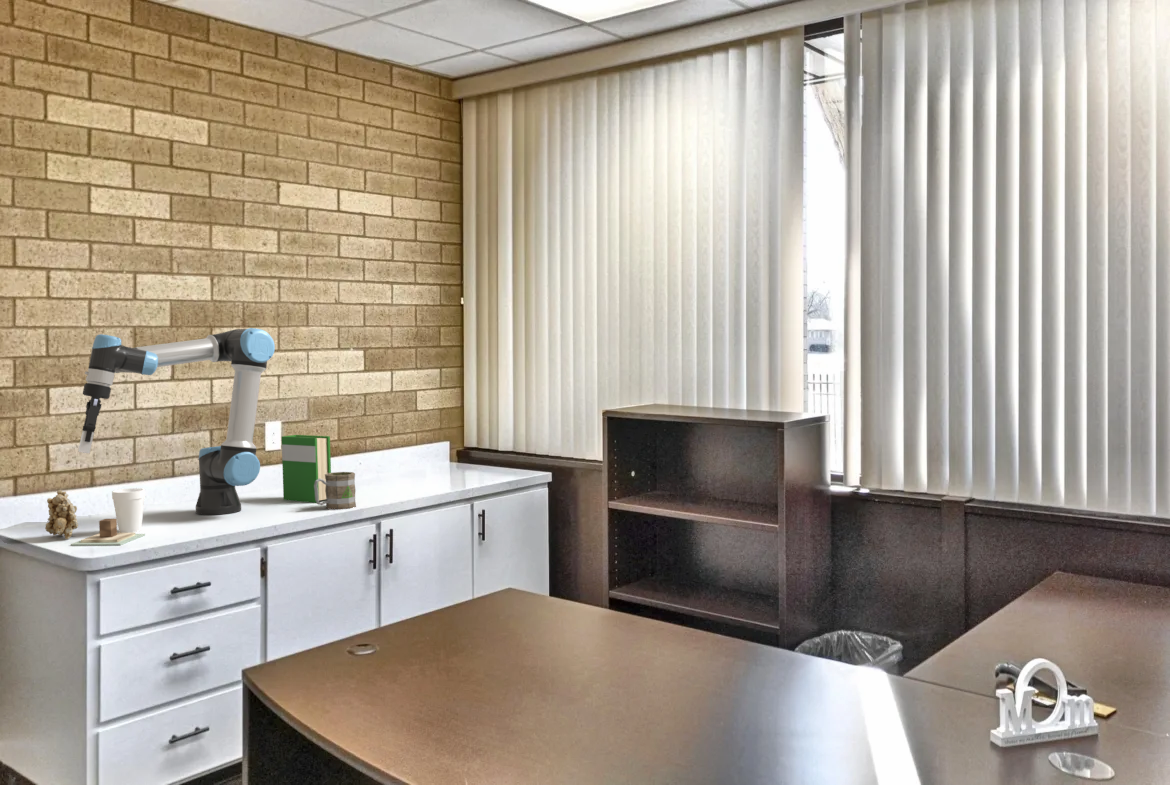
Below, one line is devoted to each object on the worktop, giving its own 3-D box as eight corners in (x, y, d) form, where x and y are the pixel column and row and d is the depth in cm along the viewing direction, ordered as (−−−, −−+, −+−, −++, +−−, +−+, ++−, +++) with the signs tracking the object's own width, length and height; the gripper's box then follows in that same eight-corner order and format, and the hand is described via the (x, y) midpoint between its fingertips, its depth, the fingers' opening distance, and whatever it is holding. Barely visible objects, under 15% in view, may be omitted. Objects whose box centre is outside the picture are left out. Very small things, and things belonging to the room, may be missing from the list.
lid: (135, 535, 303) (134, 516, 303) (117, 542, 292) (116, 523, 292) (100, 535, 304) (99, 516, 303) (80, 542, 293) (80, 523, 292)
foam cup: (133, 534, 307) (131, 492, 307) (107, 533, 309) (105, 492, 308) (152, 528, 317) (151, 488, 316) (127, 527, 318) (125, 488, 318)
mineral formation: (68, 533, 311) (66, 486, 310) (87, 538, 302) (85, 489, 302) (41, 537, 305) (39, 489, 304) (59, 542, 296) (57, 492, 295)
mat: (145, 535, 305) (145, 533, 305) (120, 545, 290) (120, 543, 290) (97, 535, 306) (97, 534, 306) (70, 545, 291) (70, 544, 291)
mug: (345, 503, 360) (344, 471, 359) (362, 506, 353) (361, 473, 352) (307, 509, 349) (306, 475, 348) (323, 512, 341) (322, 478, 341)
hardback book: (331, 500, 369) (329, 436, 368) (317, 503, 363) (315, 438, 361) (298, 497, 378) (296, 434, 377) (283, 499, 372) (281, 436, 370)
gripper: (83, 384, 313) (69, 450, 310) (86, 380, 291) (71, 451, 288) (109, 388, 316) (95, 453, 314) (114, 385, 295) (99, 455, 292)
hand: (83, 452), depth 301 cm, fingers open, 13 cm apart
